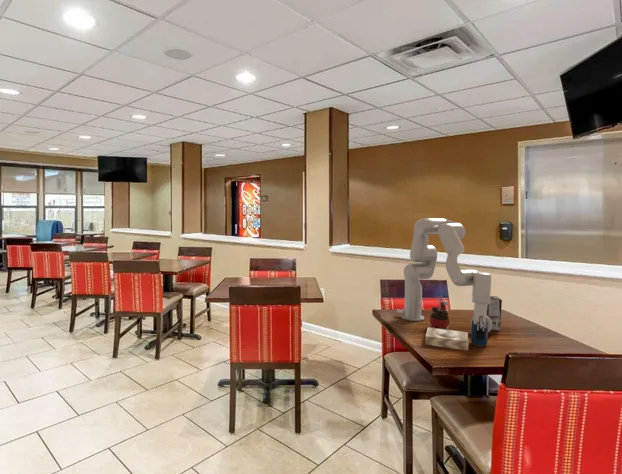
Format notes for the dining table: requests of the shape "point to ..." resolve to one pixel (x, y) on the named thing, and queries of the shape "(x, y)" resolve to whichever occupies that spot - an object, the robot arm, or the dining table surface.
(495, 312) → the coffee box
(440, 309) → the cake
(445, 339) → the block
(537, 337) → the dining table surface
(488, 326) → the donut
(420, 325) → the dining table surface
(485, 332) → the soda can
